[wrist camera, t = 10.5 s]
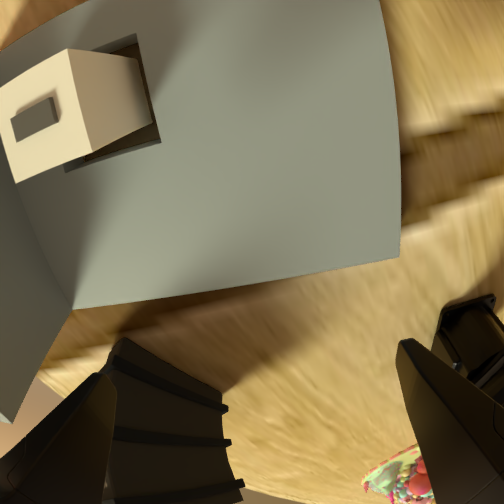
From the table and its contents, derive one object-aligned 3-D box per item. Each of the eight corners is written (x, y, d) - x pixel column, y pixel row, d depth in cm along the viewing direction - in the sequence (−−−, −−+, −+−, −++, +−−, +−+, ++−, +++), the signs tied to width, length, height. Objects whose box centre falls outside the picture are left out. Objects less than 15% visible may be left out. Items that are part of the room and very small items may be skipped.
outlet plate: (351, -36, 12) (473, -131, 1) (384, 238, 21) (481, 381, 10) (-10, 73, 14) (-152, 111, 3) (65, 292, 22) (-8, 419, 11)
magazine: (86, 324, 22) (122, 526, 12) (211, 350, 31) (264, 493, 21) (70, 346, 23) (101, 526, 13) (189, 367, 32) (235, 501, 23)
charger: (137, 59, 15) (62, 47, 8) (152, 122, 17) (88, 154, 9) (78, 82, 15) (-14, 95, 8) (93, 142, 17) (11, 186, 10)
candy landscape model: (498, 421, 40) (514, 457, 32) (428, 478, 51) (438, 509, 43) (404, 438, 37) (420, 491, 29) (335, 493, 48) (341, 532, 40)
